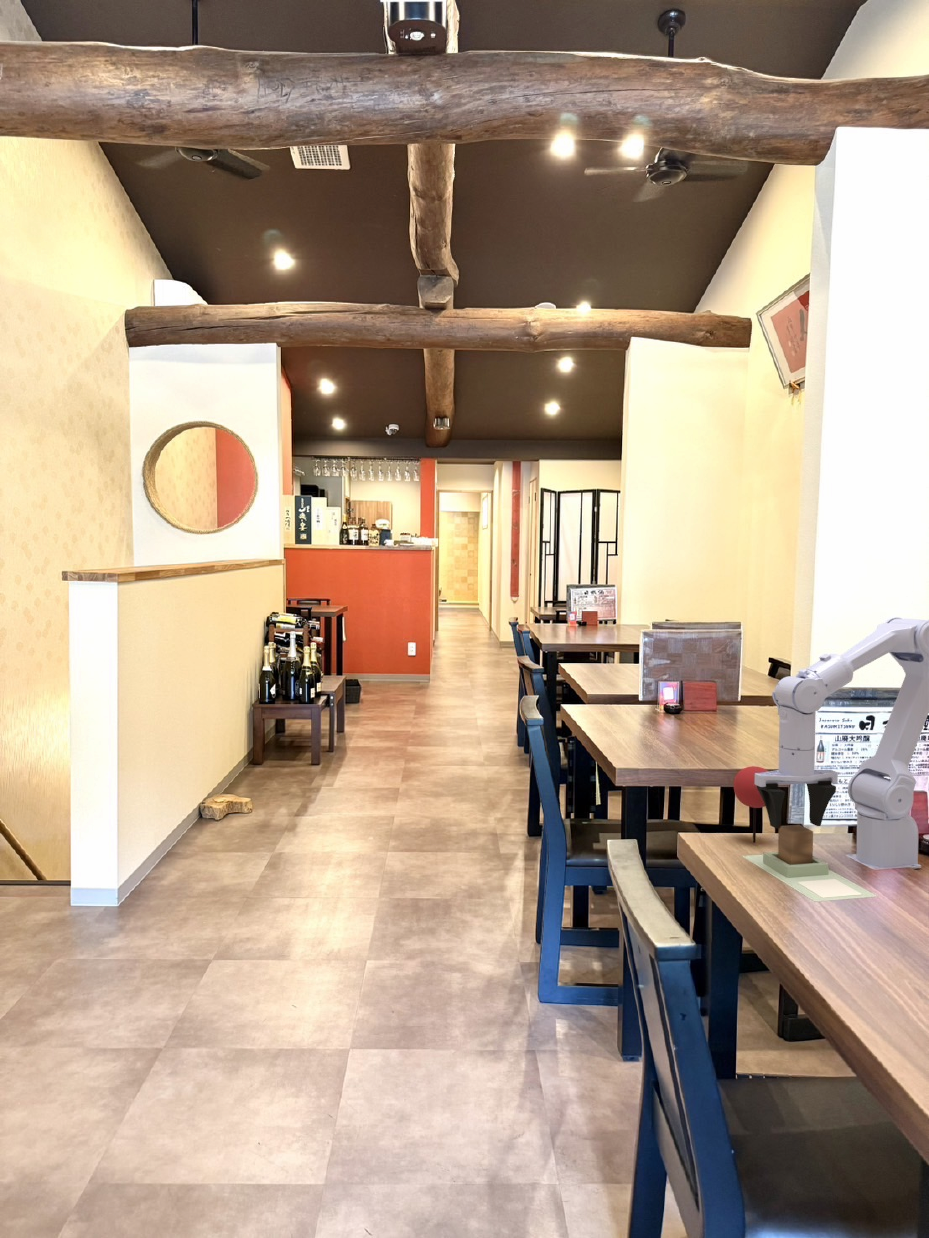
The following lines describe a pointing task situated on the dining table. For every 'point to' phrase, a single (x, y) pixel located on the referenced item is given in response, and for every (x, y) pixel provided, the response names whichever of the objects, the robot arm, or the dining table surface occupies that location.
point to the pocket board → (810, 878)
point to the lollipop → (749, 791)
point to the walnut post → (795, 845)
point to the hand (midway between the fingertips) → (795, 825)
